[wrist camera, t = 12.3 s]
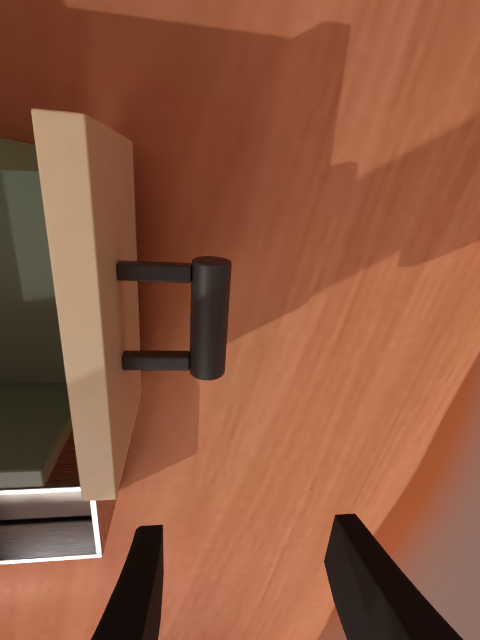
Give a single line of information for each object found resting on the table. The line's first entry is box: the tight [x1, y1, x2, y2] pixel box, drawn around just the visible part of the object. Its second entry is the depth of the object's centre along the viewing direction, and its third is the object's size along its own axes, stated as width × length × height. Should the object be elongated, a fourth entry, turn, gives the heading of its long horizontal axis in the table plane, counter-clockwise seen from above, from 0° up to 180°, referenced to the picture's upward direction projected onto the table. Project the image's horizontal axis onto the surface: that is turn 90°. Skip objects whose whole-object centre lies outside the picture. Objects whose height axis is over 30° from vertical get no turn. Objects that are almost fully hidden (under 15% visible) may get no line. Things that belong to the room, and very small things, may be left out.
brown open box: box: [0, 429, 117, 564], centre depth 19 cm, size 5×7×4 cm
